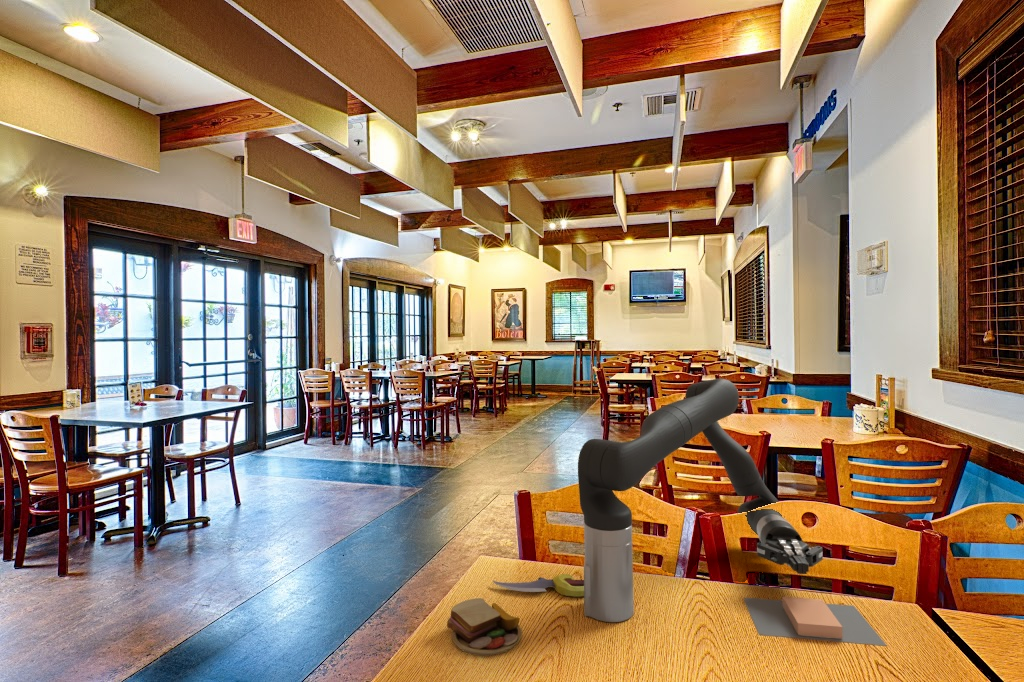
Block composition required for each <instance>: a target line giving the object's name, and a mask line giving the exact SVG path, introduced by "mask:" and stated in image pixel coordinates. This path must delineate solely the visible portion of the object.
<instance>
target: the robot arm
mask: <svg viewBox="0 0 1024 682" xmlns="http://www.w3.org/2000/svg"><path fill="white" fill-rule="evenodd" d="M739 403H740V394H739V391H738V389H737V387H736V385H735V384H734V383H733V382H732V381H730V380H728V379H726V378H714V379H710V380H709V379H708V380H704V381H703V380H702V381H700V382H695V383H692V384H690V385H689V386H688V387H687V389H686V391H685V398H683V399H680V400H677V401H674V402H671V403H668V404H666V405H664V406H661V407H659V408H658V409H656V410H654V411H653V412H651V413H650V414H648V416H646V418H645V419H644V420H643V422H642V425H641V428H640V435H639V436H638V437H636V438H635V439H632V440H630V441H624V442H622V441H615V440H608V439H602V438H591V439H588V440H587V441H586V442H585V443H584V444H583V445H582V446H581V449H580V452H579V453H578V454H579V455H578V459H577V460H578V461H577V480H578V493H579V496H578V497H579V505H580V509H581V511H582V514H583V528H584V529H583V530H584V531H583V535H584V536H583V538H584V539H583V540H584V564H583V580H584V596H583V602H584V603H583V604H584V607H583V608H584V613H583V614H584V617H590V618H592V619H595V620H597V621H599V622H600V621H601V622H605V623H621V622H624V621H626V620H629V619H631V618H632V617H633V615H634V612H635V611H634V610H635V609H634V602H635V601H634V600H635V599H634V571H633V570H634V568H633V566H634V565H633V564H634V561H633V557H634V555H633V515H632V514H633V513H632V509H630V507H629V506H628V505H627V504H625V503H624V502H623V501H622V500H621V499H619V497H617V496H616V494H615V492H626V491H628V490H630V489H632V488H633V487H634V486H635V485H637V484H638V483H639V482H640V481H641V480H642V479H643V478H644V477H646V475H647V474H648V473H649V472H650V471H651V470H652V469H653V468H654V467H655V466H656V465H658V464H659V463H660V462H661V461H663V460H665V459H666V458H667V457H668V456H670V455H671V454H673V452H675V451H677V450H679V449H680V448H682V447H683V446H684V445H685V444H687V443H688V442H689V441H691V440H692V439H693V438H695V437H696V436H698V435H699V434H700V433H702V434H703V435H704V437H705V438H706V440H707V442H708V443H709V444H710V446H711V447H712V449H713V450H714V452H715V453H716V455H717V456H718V458H719V460H720V461H721V463H722V464H721V465H723V468H724V470H725V472H726V474H727V477H728V479H729V481H730V483H731V485H732V488H733V489H734V492H735V493H736V494H737V495H739V496H741V497H753V496H754V497H755V496H757V497H756V498H753V499H751V500H748V501H745V502H743V503H741V504H740V505H739V506H738V509H737V514H738V513H742V512H747V515H745V516H746V517H747V521H748V524H749V525H750V527H751V529H752V530H753V531H754V532H755V533H756V534H757V537H758V539H759V541H760V542H757V543H756V556H757V557H760V558H762V559H764V560H767V561H770V562H772V563H774V564H776V565H779V566H783V565H787V566H788V567H790V568H791V569H792V571H794V572H796V573H797V574H798V575H807V573H808V572H810V571H809V570H810V568H813V567H815V566H816V565H817V564H818V563H820V562H822V560H823V559H824V558H823V557H824V556H823V547H822V546H820V545H817V546H811V547H810V545H809V544H808V543H806V542H804V541H803V538H802V536H801V535H800V533H799V532H798V531H797V530H796V529H795V528H794V527H793V525H792V524H791V523H790V522H789V521H788V520H787V519H786V518H785V517H784V518H783V517H782V515H781V514H780V513H779V512H777V511H775V510H773V509H761V510H756V511H751V510H753V509H756V508H758V507H762V506H765V505H768V504H771V503H776V502H780V501H779V500H778V498H777V497H775V495H774V494H773V493H772V492H771V491H770V489H769V488H768V487H767V485H766V484H765V482H764V480H763V479H762V476H761V474H760V472H759V469H758V467H757V466H756V463H755V461H754V459H753V457H752V455H750V453H749V452H748V451H747V449H745V448H744V447H743V446H742V445H741V444H740V443H739V442H737V441H736V440H735V439H734V438H733V437H731V436H730V435H729V433H727V431H725V430H724V428H723V427H722V426H721V425H720V423H719V422H718V421H720V420H722V419H725V418H727V417H729V416H731V415H733V413H735V412H736V410H737V408H738V405H739ZM748 511H750V512H748ZM756 534H755V535H756Z"/></svg>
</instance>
